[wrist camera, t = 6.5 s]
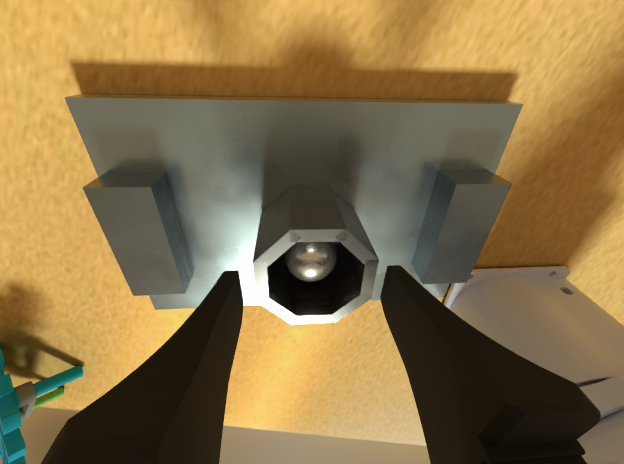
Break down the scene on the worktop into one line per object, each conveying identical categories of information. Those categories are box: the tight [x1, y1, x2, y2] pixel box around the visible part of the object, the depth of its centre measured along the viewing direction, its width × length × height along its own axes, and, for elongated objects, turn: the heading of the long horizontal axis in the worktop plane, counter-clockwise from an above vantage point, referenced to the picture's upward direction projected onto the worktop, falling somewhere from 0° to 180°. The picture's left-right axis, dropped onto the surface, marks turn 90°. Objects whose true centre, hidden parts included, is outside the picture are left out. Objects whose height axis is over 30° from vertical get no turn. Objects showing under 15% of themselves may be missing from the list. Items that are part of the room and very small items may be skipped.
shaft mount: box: [64, 94, 523, 310], centre depth 16 cm, size 22×14×6 cm, turn 89°
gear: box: [0, 348, 83, 464], centre depth 22 cm, size 11×6×10 cm
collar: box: [252, 185, 379, 325], centre depth 15 cm, size 6×6×5 cm
